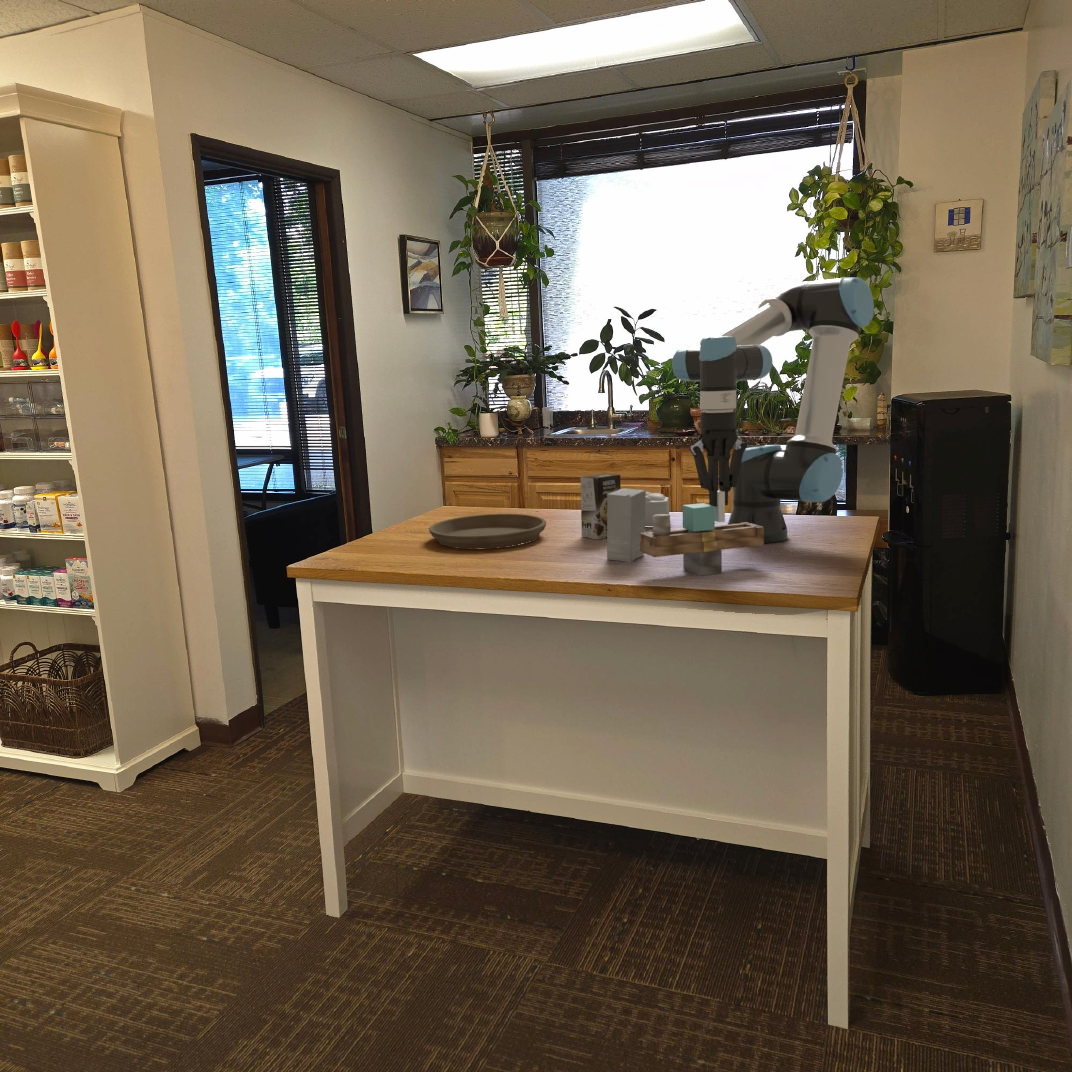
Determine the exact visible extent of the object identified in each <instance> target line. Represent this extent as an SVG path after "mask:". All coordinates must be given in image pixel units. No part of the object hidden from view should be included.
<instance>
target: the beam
mask: <svg viewBox="0 0 1072 1072" xmlns="http://www.w3.org/2000/svg"><path fill="white" fill-rule="evenodd" d="M652 529H653V530H652V531H651V532H646V531H645V532H644V533H640V551H641V552H643V553H645V554H646V555H647V556H649V557H652V558H660V557H668V556H676V555H682V556H683V557H682V558H683V559H682V560H683V565H682V566H683V569H684V570H687V571H689V572H691V573H692V574H696V575H698V576H700V577H702V576H709V575H710V576H711V575H719V573H720V574H723V573H722V572H723V571H722V570H723V569H722V566H723V563H722V561H723V560H722V559H723V558H722V557H723V556H722V555H723V554H722V553H723V551H724V550H731V549H741V548H749V547H750V548H751V547H757V546H758V547H759V546H764V545H765V543H764V527H762V526H759V525H755V524H752V523H748V522H743V523H739V524H729V525H727V524H723V525H715V529H714V530H709V531H702V532H692V533H688V530H687V529H684V528H682V529H681V528H680V529H673V530H672V529H671V514H669V515H668V514H656V515H653V528H652ZM722 550H723V551H722ZM645 554H644V555H645Z"/></svg>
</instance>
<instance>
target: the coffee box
mask: <svg viewBox="0 0 1072 1072" xmlns="http://www.w3.org/2000/svg"><path fill="white" fill-rule="evenodd" d="M621 487H622V486H621V474H617V473H599V474H591V475H585V476H580V513H581V514H580V515H581V516H580V517H581V518H580V519H581V524H580V525H581V538H586V537H587V538H588V539H591V538H593V539H592V540H596V539H598V540H603V539H607V538H606V537H607V494H609V493H612V492H615V491H617V490H620V489H622V488H621ZM587 538H586V539H587ZM602 538H603V539H602Z"/></svg>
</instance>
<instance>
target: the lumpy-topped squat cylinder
mask: <svg viewBox="0 0 1072 1072" xmlns="http://www.w3.org/2000/svg"><path fill="white" fill-rule="evenodd" d="M656 514H668V515H670V498H669V496H668V497H667V496H665V495H664V494H662V493H658V492H654V493H652V492H649V491H646V496H645V526H653V515H656Z"/></svg>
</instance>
